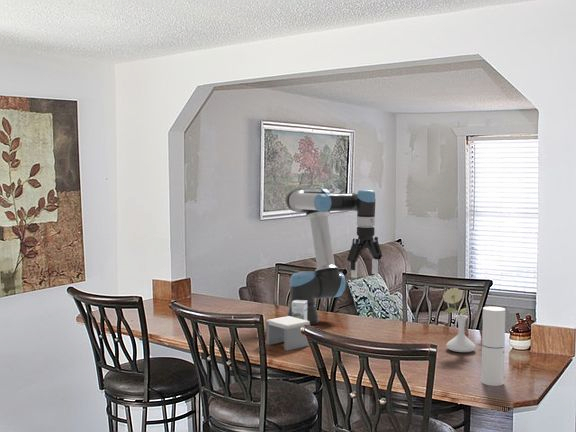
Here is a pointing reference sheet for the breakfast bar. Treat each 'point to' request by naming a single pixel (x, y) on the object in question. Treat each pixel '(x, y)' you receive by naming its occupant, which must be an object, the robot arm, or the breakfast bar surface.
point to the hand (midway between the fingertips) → (364, 275)
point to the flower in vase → (460, 341)
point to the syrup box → (299, 309)
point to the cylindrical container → (493, 346)
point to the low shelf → (286, 332)
